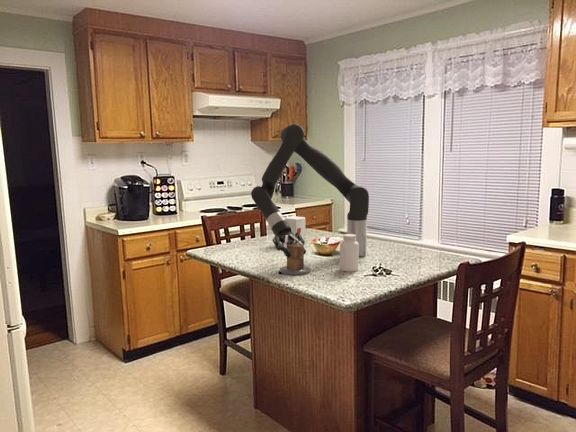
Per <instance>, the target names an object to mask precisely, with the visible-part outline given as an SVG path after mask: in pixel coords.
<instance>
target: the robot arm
mask: <svg viewBox="0 0 576 432" xmlns="http://www.w3.org/2000/svg"><path fill="white" fill-rule="evenodd" d="M280 140H281V142H282V143H281V145H280V147H279V148H278V150H277V151H276V153H275V155H274V157H273V158H272V160H271V161H270V162H269V163H268V164H267V165H268V166H267V167H266V169H265V171H264V173H263V175H262V176H261V183H262V185H261V186H260V185H257V186H255V187H253V188H252V190H251V193H250V195H251V198H252V201H253V202H254V204H255V205H256V206H257V207H258V208H259V210H260V212H261V213H262V215H263V217H264V218H265V220H266V222H267V225H268V226H269V228H270V230H271V232H272V234H273V235H274V237H273V238H272V243H273V244H274V246H275V248H276V250H277V251H281V252H282V253H283V254H284V256H285V257H286V259H287V258H290V257H291V253H290V252H289V250H288V248H287V245H291V244H292V245H293V244H297V243H298V244H299V245H303V244H304V243H305V244H306V240H305V241H304V240H303V238H302V237H301V235H300V234H299V233H298V232H297V233H296V234H293V233H292V232H291V227H290V226H289V224H288V223H287V221H286V219H285V215H283V214H282V212H281V210H280V209H279V208H278V206H277V205H276V203H274V202H273V200H272V199H273V196H274V193H275V190H276V186H277V184H278V182H279V180H280V178H281V176H282V174H283V171H284V170H285V168H286V166H287V164H288V162H289V161H290V159H291V157H292V156H293V153H295V154H297V155H298V156H299V157H301V158H302V159H303V161H304V162H305V163H307V164H308V165H309V166H310V167H311V168H312V169H313V170H314V171H315V172H316V173H317V174H318V175H319V176H321V178H323V179H324V180H325V181H326V182H327V183H329V184H330V185H331V186H333V187H334V188H335V189H337V190H338V191H339V193H340V194H341V195H342V196H343V197H344V198H345V200H346V201H347V202H348V203H349V212H348V213H347V218H346V221H347V222H346V223H347V224H346V225H347V227H346V234H354V235H356V240H355V241H357V242H358V243H359V257H366V256H367V247H368V246H367V245H368V244H367V243H368V242H367V241H368V239H367V238H368V237H367V236H368V235H367V234H368V233H367V224H368V223H367V222H368V220H367V218H368V213H369V209H370V208H369V206H370V205H369V204H370V194H369V191H368V190H367V188H365V187H364V186H361V185H358V184H357V183H355V182H354V181H352V180H351V179H349V178H348V177H347V176H346V174H345V173H344V172H343V170H342V169H341V167H340V166H339V164H337V162H336V161H335V160H334V159H333V158H331V157H330V156H329V155H328V154H327V153H325V152H324V151H323V150H321V149H318V148H317V147H315V146H313V145H311V144H310V143H309V142H308V141H307V140H306V138H305V130H304V128H303V127H302V126H301V125H300V124H297V123H293V124H289V125H287V126H286V127H284V128H283V129H282V131H281V132H280ZM294 240H295V242H294ZM300 240H301V241H302V242H301V241H300ZM303 246H304V245H303ZM305 248H306V247H304V255H305V254H306V253H307V251H306V249H305Z"/></svg>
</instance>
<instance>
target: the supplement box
mask: <svg viewBox="0 0 576 432" xmlns="http://www.w3.org/2000/svg"><path fill="white" fill-rule="evenodd" d="M284 218H285V219H286V221H287V223H288V224H289V226H290V227H291V232H292V233H293V234H296V233H297V232H298V233H299V234H300V235H301V237H302V238H303V240H304V241H305V243H304V244H303V246H305V245H306V217H305V216H296V215H295V216H294V215H291V216H284ZM300 241H301V240H300ZM294 242H295V240H294ZM301 242H302V241H301ZM297 244H298V243H297ZM291 245H292V244H291ZM298 245H299V244H298ZM287 246H288V245H287ZM287 246H286V247H287Z"/></svg>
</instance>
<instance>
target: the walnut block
mask: <svg viewBox="0 0 576 432" xmlns="http://www.w3.org/2000/svg"><path fill="white" fill-rule="evenodd" d="M304 246H305V245H298V244H293V245H288V246H286V248H288V250H289V252H290V253H291V257H290V258H287V257H286V266H287V269H289V270H293V271H298V270H302V269H304V266H305V260H304V258H305V256H304V255H305V254H304V248H305V247H304Z"/></svg>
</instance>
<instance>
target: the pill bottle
mask: <svg viewBox="0 0 576 432" xmlns="http://www.w3.org/2000/svg"><path fill="white" fill-rule="evenodd" d="M342 239H343V240H342V241H341V242H340V243H339V270H340V271H343V272H347V273H349V272H350V273H351V272H352V273H353V272H357V271H359V264H360V263H359V261H360V260H359V259H360V256H359V243H358V242H357V241H355V240H356V235H354V234H347V233H346V234H343V236H342Z"/></svg>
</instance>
